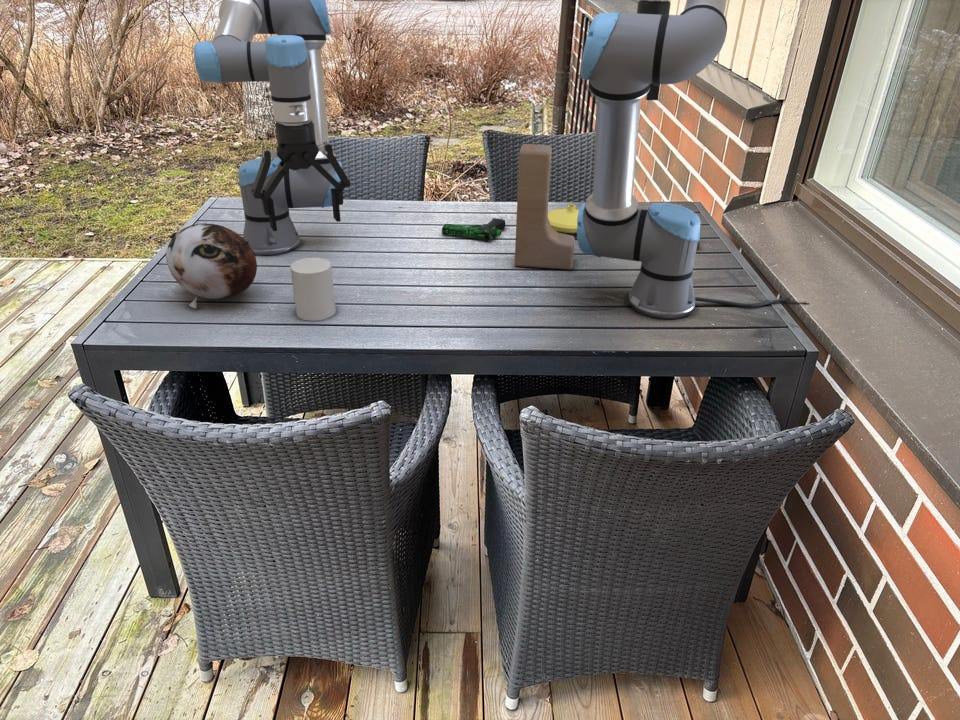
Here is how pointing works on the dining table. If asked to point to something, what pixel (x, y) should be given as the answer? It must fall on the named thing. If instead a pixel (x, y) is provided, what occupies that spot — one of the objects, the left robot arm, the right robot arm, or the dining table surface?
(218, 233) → the cat face balloon
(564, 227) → the yellow pot lid
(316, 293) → the canister
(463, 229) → the handgun
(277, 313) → the dining table surface
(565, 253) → the decorative block
